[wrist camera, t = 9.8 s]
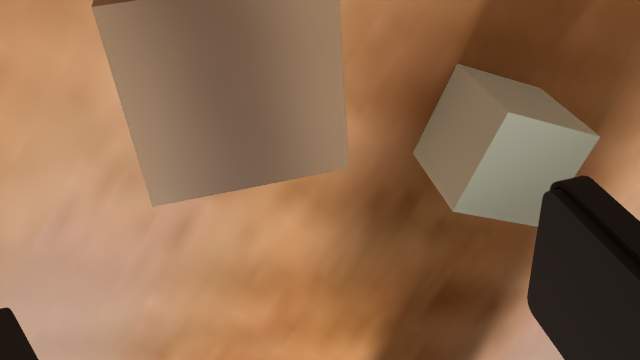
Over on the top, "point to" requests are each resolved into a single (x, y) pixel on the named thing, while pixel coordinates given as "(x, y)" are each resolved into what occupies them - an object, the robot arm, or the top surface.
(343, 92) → the walnut cube
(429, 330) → the top surface
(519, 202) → the sage cube
